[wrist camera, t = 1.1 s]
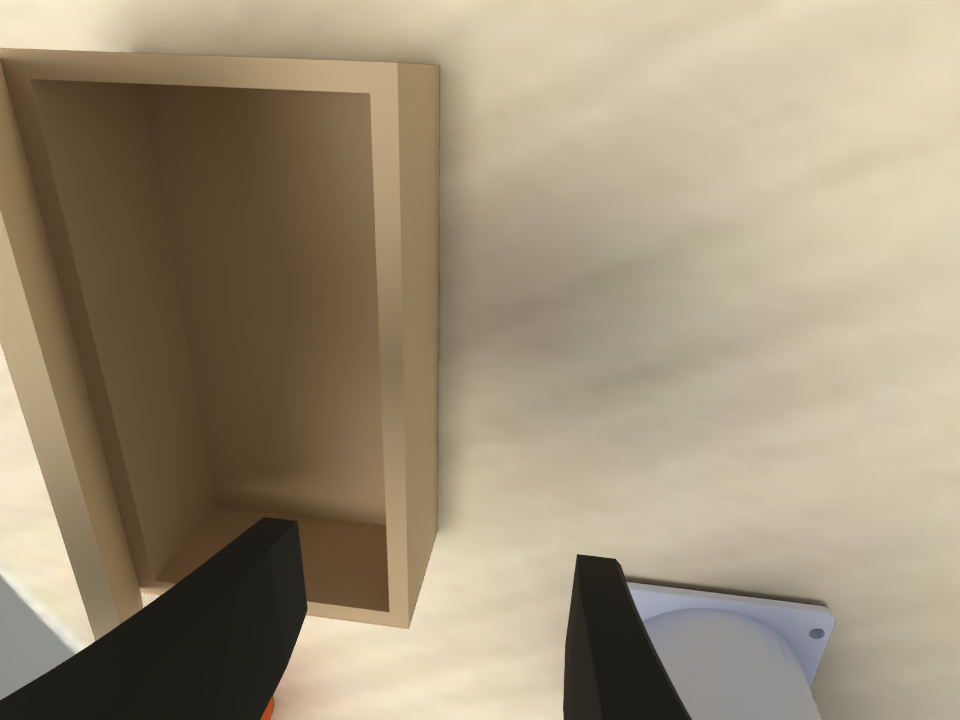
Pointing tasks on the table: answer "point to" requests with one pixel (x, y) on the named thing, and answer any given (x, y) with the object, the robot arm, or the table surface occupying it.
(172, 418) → the kraft box
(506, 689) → the table surface
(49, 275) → the lid flap
